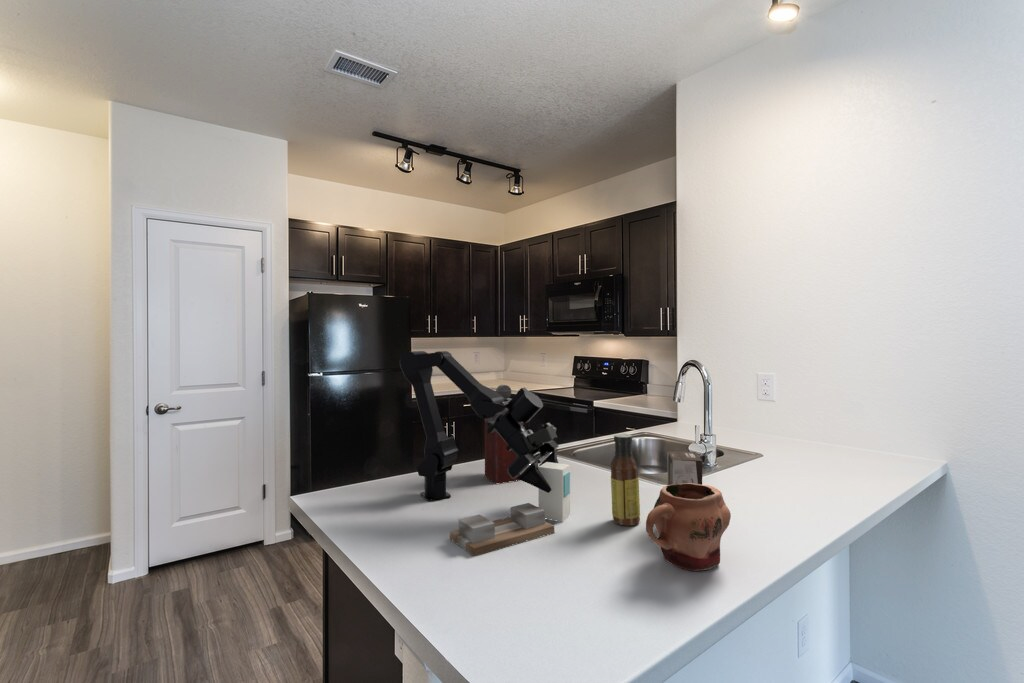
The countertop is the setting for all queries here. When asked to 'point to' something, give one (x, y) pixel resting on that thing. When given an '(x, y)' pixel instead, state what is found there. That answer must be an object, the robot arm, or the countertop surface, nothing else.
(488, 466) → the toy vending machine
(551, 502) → the block
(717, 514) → the terracotta clay mug
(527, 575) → the countertop surface
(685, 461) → the coffee box
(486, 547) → the rail board
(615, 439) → the sauce bottle
